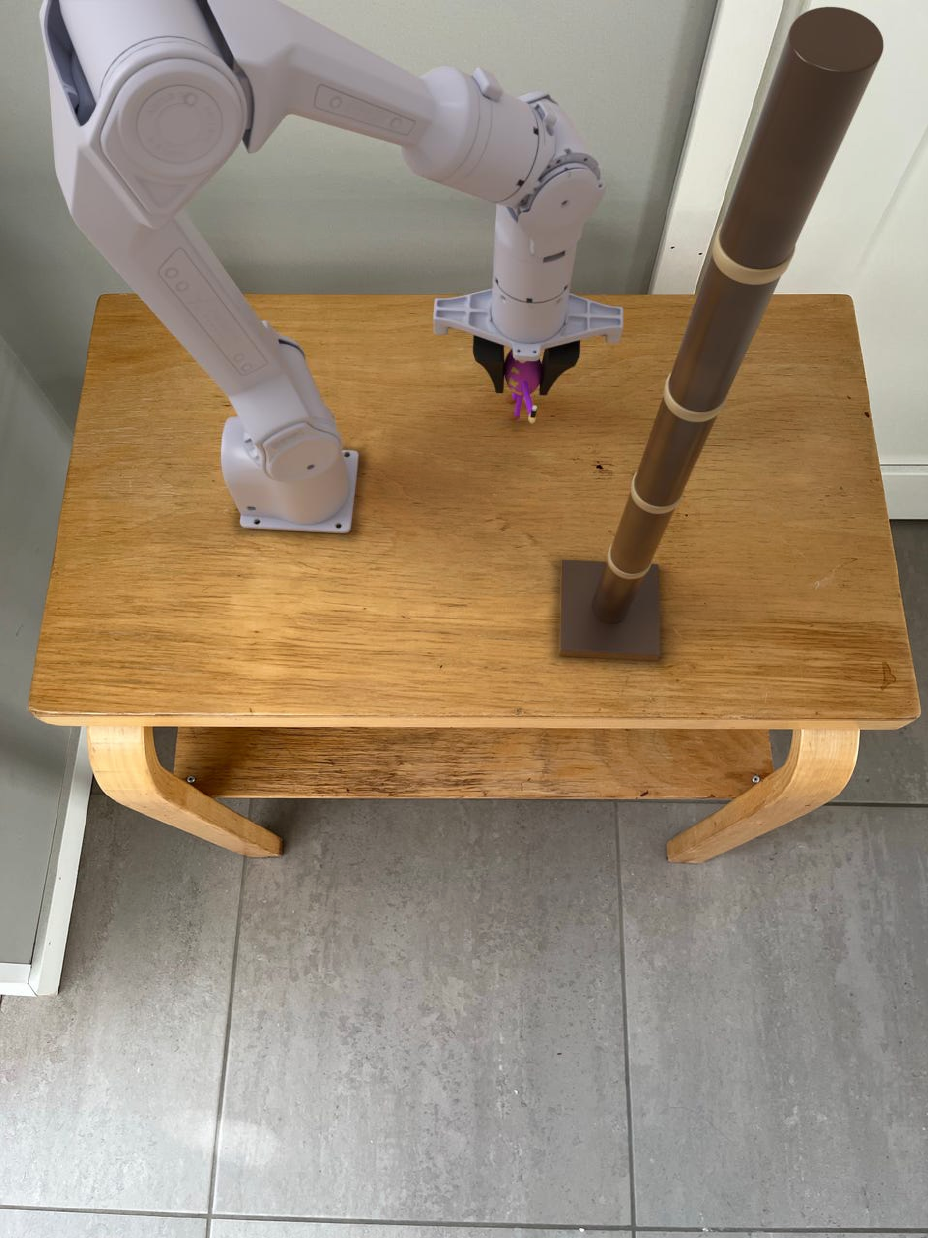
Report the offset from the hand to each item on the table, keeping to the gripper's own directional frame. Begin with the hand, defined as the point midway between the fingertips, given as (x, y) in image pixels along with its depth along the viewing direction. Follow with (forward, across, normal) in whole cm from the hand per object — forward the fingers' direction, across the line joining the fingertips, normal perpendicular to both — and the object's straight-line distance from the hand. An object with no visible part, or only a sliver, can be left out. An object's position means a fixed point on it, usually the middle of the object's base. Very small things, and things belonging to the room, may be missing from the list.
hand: (521, 384), depth 79 cm
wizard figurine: (+4, 0, 0) cm, 4 cm away
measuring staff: (+4, +8, -19) cm, 21 cm away
